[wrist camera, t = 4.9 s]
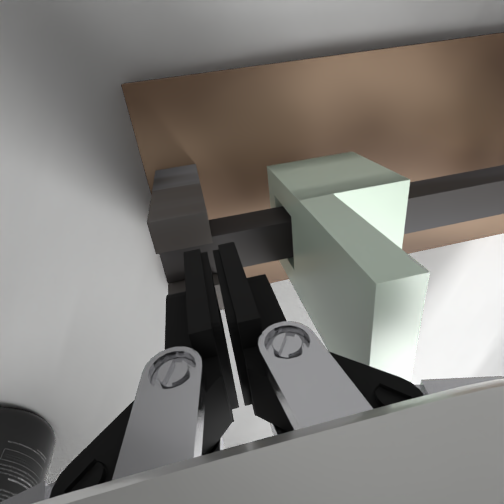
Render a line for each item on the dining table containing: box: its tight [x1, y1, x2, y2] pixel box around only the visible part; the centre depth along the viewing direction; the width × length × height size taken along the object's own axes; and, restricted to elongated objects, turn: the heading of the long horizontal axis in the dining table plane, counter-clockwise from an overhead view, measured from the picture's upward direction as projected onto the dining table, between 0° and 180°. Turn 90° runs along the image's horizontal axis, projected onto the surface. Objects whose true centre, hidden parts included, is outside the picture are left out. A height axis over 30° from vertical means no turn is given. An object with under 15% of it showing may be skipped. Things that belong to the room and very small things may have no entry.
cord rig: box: [121, 32, 504, 310], centre depth 17 cm, size 12×27×9 cm, turn 96°
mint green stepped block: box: [267, 152, 430, 382], centre depth 12 cm, size 4×4×9 cm
